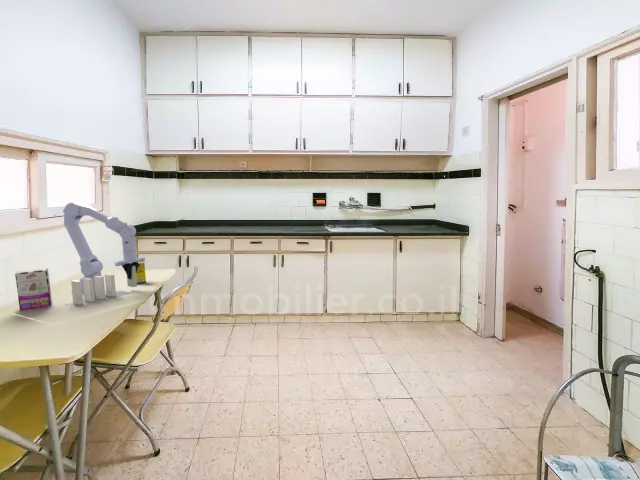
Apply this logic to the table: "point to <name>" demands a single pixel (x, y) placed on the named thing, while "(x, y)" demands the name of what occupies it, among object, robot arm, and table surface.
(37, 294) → the candy bar box
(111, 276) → the ivory domino
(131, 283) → the sage domino
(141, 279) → the supplement box
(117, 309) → the table surface
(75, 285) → the ivory domino
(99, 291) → the ivory domino
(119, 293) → the slate board
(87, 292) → the ivory domino
